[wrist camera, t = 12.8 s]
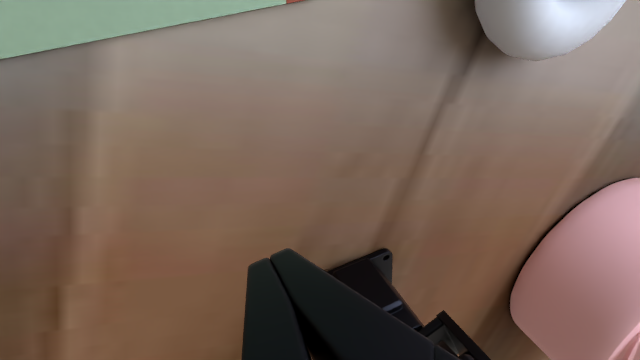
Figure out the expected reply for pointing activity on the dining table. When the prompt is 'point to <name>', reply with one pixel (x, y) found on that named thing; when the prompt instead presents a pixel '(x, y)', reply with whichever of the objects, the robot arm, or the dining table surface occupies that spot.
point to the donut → (543, 24)
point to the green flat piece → (101, 19)
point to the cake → (586, 281)
